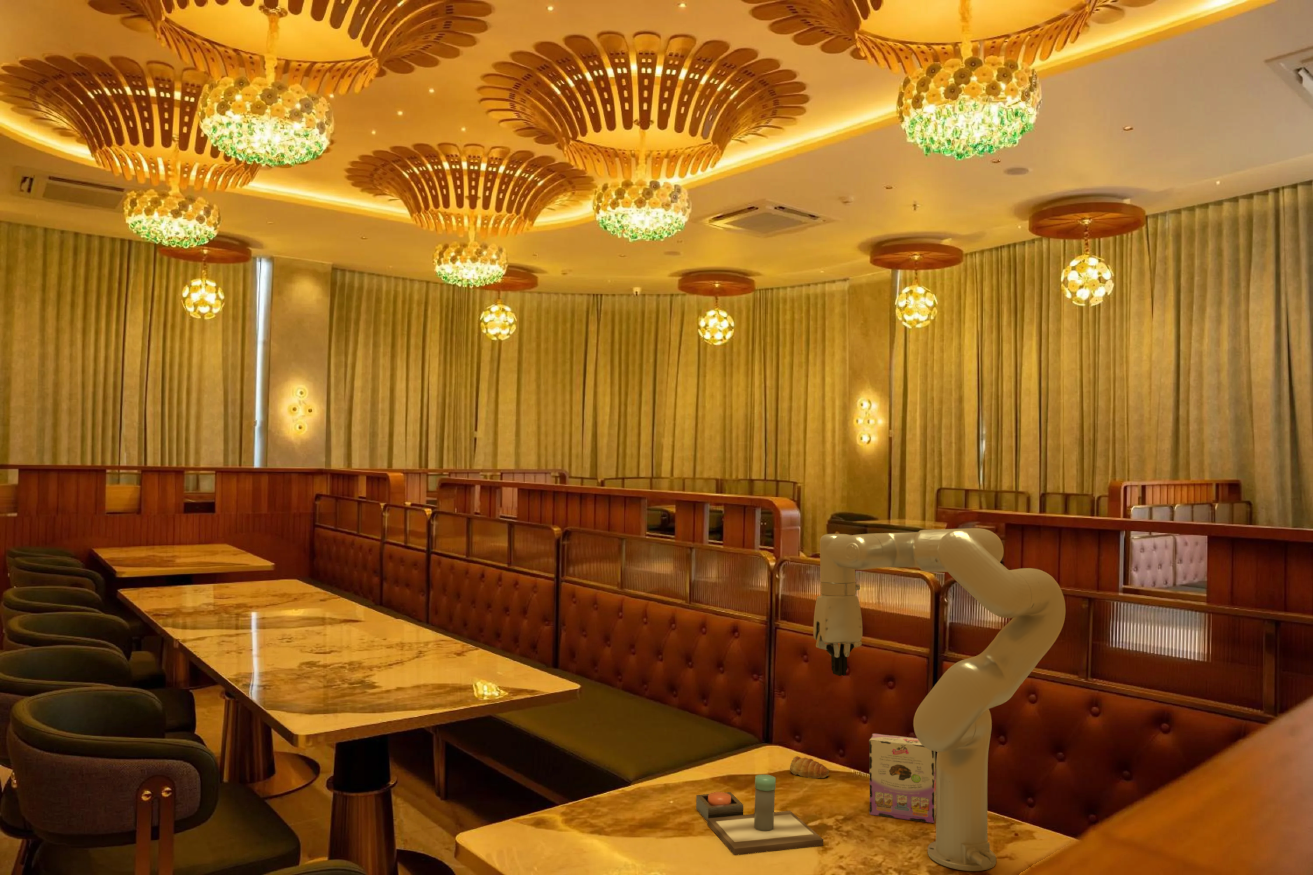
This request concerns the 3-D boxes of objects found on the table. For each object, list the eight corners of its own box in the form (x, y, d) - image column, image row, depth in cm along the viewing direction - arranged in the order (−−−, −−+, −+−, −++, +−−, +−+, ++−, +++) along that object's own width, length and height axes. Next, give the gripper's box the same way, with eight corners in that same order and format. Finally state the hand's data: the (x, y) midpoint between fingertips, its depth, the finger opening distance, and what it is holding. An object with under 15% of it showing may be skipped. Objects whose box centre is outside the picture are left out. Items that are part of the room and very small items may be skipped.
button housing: (743, 818, 193) (743, 804, 193) (708, 822, 191) (708, 807, 191) (730, 805, 201) (730, 791, 201) (696, 808, 198) (696, 794, 199)
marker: (776, 830, 183) (778, 780, 184) (756, 831, 182) (758, 780, 183) (770, 823, 187) (772, 774, 188) (751, 823, 186) (752, 774, 187)
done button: (734, 810, 194) (734, 798, 194) (712, 812, 193) (712, 800, 193) (726, 802, 199) (726, 791, 199) (704, 803, 197) (705, 792, 198)
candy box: (936, 814, 197) (936, 738, 198) (934, 824, 191) (934, 746, 192) (872, 805, 202) (872, 731, 203) (868, 814, 196) (868, 738, 197)
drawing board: (823, 845, 179) (823, 838, 179) (734, 854, 174) (734, 847, 174) (790, 816, 195) (790, 809, 195) (707, 824, 190) (707, 817, 190)
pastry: (833, 774, 223) (833, 759, 224) (822, 782, 218) (822, 766, 218) (798, 767, 229) (798, 752, 229) (787, 775, 223) (787, 759, 223)
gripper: (859, 587, 204) (860, 669, 203) (799, 589, 199) (800, 673, 198) (876, 590, 197) (878, 675, 195) (815, 593, 192) (816, 680, 191)
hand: (839, 674), depth 197 cm, fingers closed
